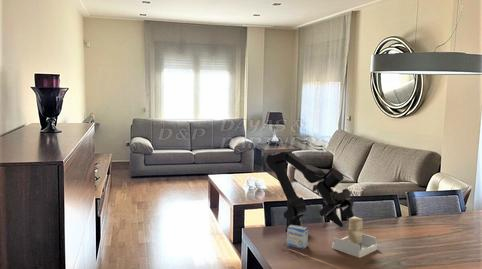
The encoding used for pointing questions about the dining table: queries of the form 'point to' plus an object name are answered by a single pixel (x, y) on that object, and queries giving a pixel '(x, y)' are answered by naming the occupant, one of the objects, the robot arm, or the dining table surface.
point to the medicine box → (297, 236)
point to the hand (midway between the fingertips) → (348, 224)
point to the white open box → (355, 246)
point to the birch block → (355, 230)
